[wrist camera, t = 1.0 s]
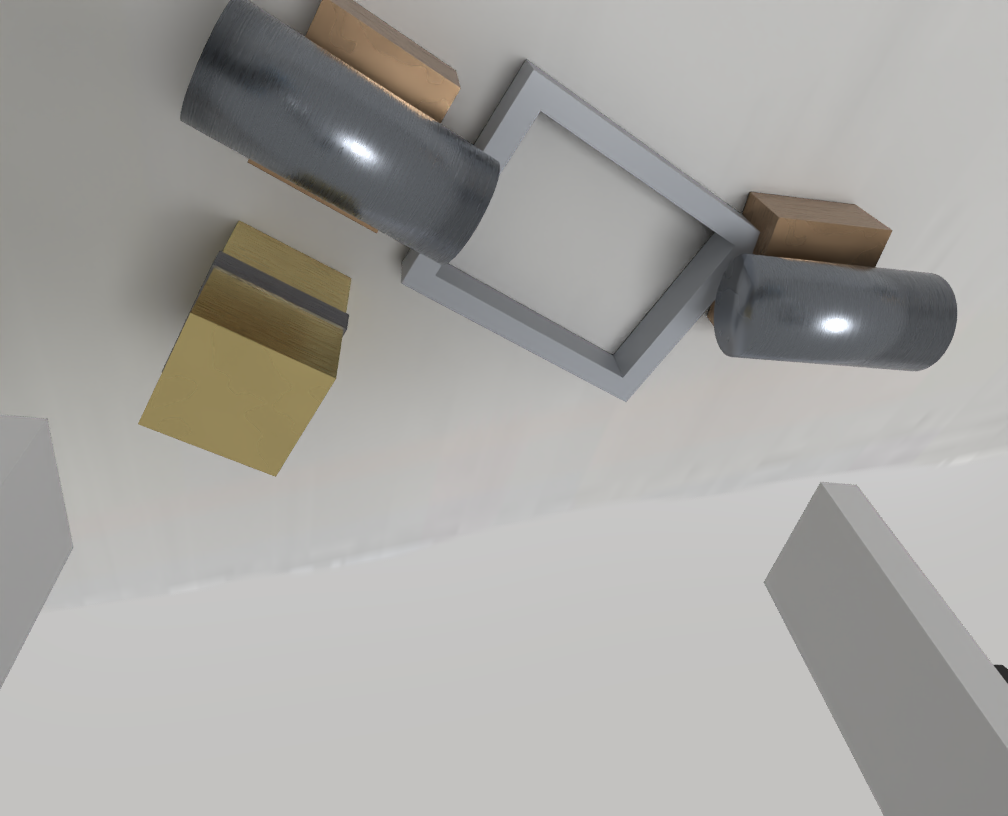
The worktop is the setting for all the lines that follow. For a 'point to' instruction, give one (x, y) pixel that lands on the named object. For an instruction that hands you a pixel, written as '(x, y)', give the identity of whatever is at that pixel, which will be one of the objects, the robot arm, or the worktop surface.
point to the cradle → (597, 130)
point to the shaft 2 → (828, 292)
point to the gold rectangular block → (253, 353)
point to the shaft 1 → (345, 121)
